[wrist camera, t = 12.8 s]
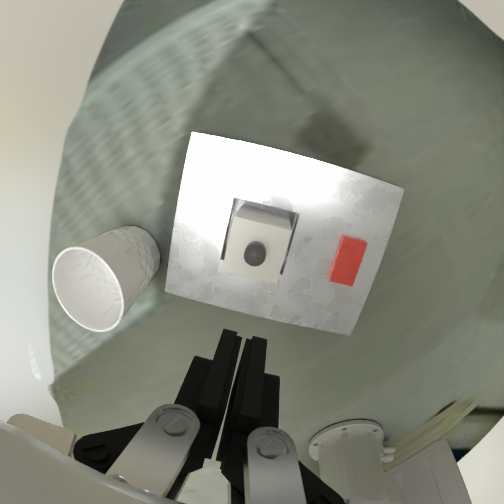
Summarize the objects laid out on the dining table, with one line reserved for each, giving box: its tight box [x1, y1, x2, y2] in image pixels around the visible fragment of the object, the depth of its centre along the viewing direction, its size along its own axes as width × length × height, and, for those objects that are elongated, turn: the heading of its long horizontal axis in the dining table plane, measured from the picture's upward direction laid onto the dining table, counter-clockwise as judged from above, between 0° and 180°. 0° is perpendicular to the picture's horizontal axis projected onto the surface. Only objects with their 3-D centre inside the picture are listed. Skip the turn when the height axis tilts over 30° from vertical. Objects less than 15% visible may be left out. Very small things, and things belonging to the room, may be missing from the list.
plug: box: [222, 204, 292, 284], centre depth 25 cm, size 4×4×7 cm
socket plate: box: [165, 132, 404, 336], centre depth 27 cm, size 20×16×3 cm
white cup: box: [52, 226, 160, 332], centre depth 26 cm, size 8×8×10 cm
